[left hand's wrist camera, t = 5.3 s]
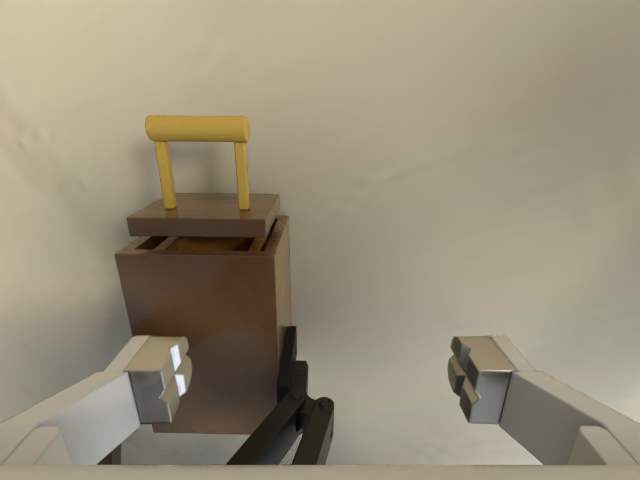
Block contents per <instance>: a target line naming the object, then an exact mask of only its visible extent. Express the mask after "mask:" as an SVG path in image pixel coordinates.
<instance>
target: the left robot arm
mask: <svg viewBox="0 0 640 480" xmlns="http://www.w3.org/2000/svg"><path fill="white" fill-rule="evenodd" d="M188 349H189V344H188V339H187V338H186V337H185V336H158V335H153V336H151V335H136V336H134V337H132V338H131V339H130V340H129V342H128V343H127V344H126V345H125V346H124V347H123V349H122V350H121V351H120V352H119V353H118V355H117V356H116V357H115V358H114V359H113V361H112V362H111V363H110V364H109V365H108V366H107V368H106V369H105V370H104V371H103V372H96V373H94V374H92V375H91V376H89V377H87V378H85V379H83V380H81V381H79V382H77V383H75V384H74V385H72V386H70V387H68V388H66V389H64V390H62V391H60V392H59V393H57V394H55V395H53V396H51V397H49V398H47V399H45V400H43V401H42V402H40V403H38V404H36V405H34V406H32V407H30V408H28V409H26V410H25V411H23V412H21V413H19V414H17V415H15V416H13V417H11V418H9V419H8V420H6V421H4V422H2V423H0V480H640V423H638V422H636V421H634V420H632V419H630V418H628V417H626V416H625V415H623V414H621V413H619V412H617V411H615V410H613V409H611V408H610V407H608V406H606V405H604V404H602V403H600V402H598V401H596V400H595V399H593V398H591V397H589V396H587V395H585V394H583V393H581V392H579V391H578V390H576V389H574V388H572V387H570V386H568V385H566V384H564V383H563V382H561V381H559V380H557V379H555V378H553V377H551V376H549V375H548V374H546V373H544V372H537V371H536V370H535V369H534V368H533V366H532V365H531V364H530V363H529V362H528V361H527V359H526V358H525V357H524V356H523V355H522V353H521V352H520V351H519V350H518V349H517V348H516V346H515V345H514V344H513V343H512V342H511V340H510V339H509V338H508V337H506V336H504V335H492V336H454V338H453V340H452V343H451V349H452V351H453V353H454V355H453V356H452V357H451V358H450V359H449V362H448V378H449V382H450V385H451V388H452V390H453V392H454V393H456V394H457V395H458V396H460V403H459V405H460V407H461V409H462V411H463V413H464V415H465V417H466V419H467V421H468V423H474V424H499V426H500V427H501V428H502V429H504V430H505V431H506V432H507V433H508V434H509V435H510V436H512V437H513V438H514V439H515V440H516V441H517V442H518V443H520V444H521V445H522V446H523V447H524V448H525V449H526V450H528V451H529V452H530V453H531V454H532V455H533V456H535V457H536V458H537V459H538V460H539V461H540V462H541V463H543V464H544V465H96V464H98V463H99V462H100V461H101V460H102V459H103V458H104V457H106V456H107V455H108V454H109V453H110V452H111V451H112V450H114V449H115V448H116V447H117V446H118V445H119V444H121V443H122V442H123V441H124V440H125V439H126V438H127V437H129V436H130V435H131V434H132V433H133V432H134V431H135V430H137V429H138V428H139V427H140V426H141V425H140V424H165V423H172V421H173V419H174V417H175V415H176V413H177V411H178V409H179V407H180V405H181V403H180V396H182V395H183V394H184V393H186V392H187V390H188V388H189V385H190V382H191V377H192V361H191V359H190V358H189V357H188V356H187V355H186V353H187V351H188Z"/></svg>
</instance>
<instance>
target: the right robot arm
mask: <svg viewBox="0 0 640 480" xmlns="http://www.w3.org/2000/svg"><path fill="white" fill-rule="evenodd" d="M296 355H297V339H296V326H287V330H286V336H285V342H284V347H283V353H282V359H281V364H280V370H279V374H278V380H277V385H276V387H277V405H276V407H275V408H274V409H273V410H272V411H271V412H270V414H269V415H268V416H267V417H266V418H265V419H264V421H263V422H262V423H261V424H260V425H259V426H258V428H257V429H256V430H255V431H254V432H253V433H252V435H251V436H250V437H249V438H248V439H247V440H246V442H245V443H244V444H243V445H242V446H241V447H240V449H239V450H238V451H237V452H236V453H235V454H234V456H233V457H232V458H231V459H230V460H229V461H228V463H227V464H226V465H278V464H279V463H280V462H281V460H282V459H283V457H284V456H285V455H286V453H287V452H288V450H289V449H290V448H291V446H292V445H293V443H294V442H295V441H296V439H297V438H298V436H299V435H300V434H301V433H303V435H302V438H301V441H300V443H299V446H298V449H297V451H296V454H295V457H294V459H293V462H292V465H325V463H326V459H327V455H328V452H329V448H330V445H331V441H332V438H333V424H334V403H333V401H332V400H331V399H330V398H327V397H322V398H319V399H317V400H314V399H312V398H310V397H309V396H308V395H307V390H308V365H307V363H306V361H296ZM96 465H121V444H119V445H118V446H117V447H116V448H115V449H114V450H112V451H111V452H110V453H109V454H108V455H107V456H106V457H104V458H103V459H102V460H101V461H100V462H99V463H98V464H96Z"/></svg>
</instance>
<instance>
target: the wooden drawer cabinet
mask: <svg viewBox="0 0 640 480" xmlns="http://www.w3.org/2000/svg"><path fill="white" fill-rule="evenodd" d="M168 237H169V236H140V237H139V238H138V239H136V240H135V241H133V242H132V243H130V244H129V245H127V246H126V247H124V248H123V249H121V250H120V251H118V252H117V253H116V254H115V259H116V263H117V268H118V272H119V277H120V281H121V286H122V290H123V295H124V299H125V304H126V309H127V313H128V318H129V322H130V327H131V331H132V336H133V337H134V336H136V335H151V336H153V335H158V336H185V337H186V338H187V339H188V344H189V349H188V351H187V353H186V355H187V356H188V357H189V358H190V359H191V361H192V377H191V382H190V385H189V388H188V390H187V392H186V393H184V394H183V395H182V396H180V403H181V405H180V407H179V409H178V411H177V413H176V415H175V417H174V419H173V421H172V423H165V424H152V427H153V431H154V433H204V434H252V433H253V432H254V431H255V430H256V429H257V428H258V426H259V425H260V424H261V423H262V422H263V421H264V419H265V418H266V417H267V416H268V415H269V414H270V412H271V411H272V410H273V409H274V408H275V407H276V405H277V387H276V385H277V380H278V374H279V370H280V364H281V359H282V353H283V347H284V342H285V336H286V330H287V326H291V292H290V249H289V217H288V216H276V218H275V220H274V222H273V224H272V226H271V236H270V238H269V241H268V243H267V245H266V247H265V250H264V251H204V250H153V249H154V248H156V247H157V246H158V245H159V244H161V243H162V242H163V241H164V240H166V239H167V238H168Z"/></svg>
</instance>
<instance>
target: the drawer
mask: <svg viewBox="0 0 640 480" xmlns="http://www.w3.org/2000/svg"><path fill="white" fill-rule="evenodd" d="M145 128H146V133H147V135H148V137H149V139H150V140H152V141H155V149H156V155H157V161H158V168H159V174H160V181H161V187H162V193H163V198H162V199H160V200H159V201H157V202H155V203H153V204H151V205H149V206H147V207H146V208H144V209H142V210H140V211H138V212H136V213H135V214H133V215H131V216H129V217H127V223H128V228H129V233H130V236H169V237H168V238H167V239H166V240H164V241H163V242H162V243H161V244H159V245H158V246H157V247H156V248H154V249H153V250H204V251H264V250H265V247H266V245H267V243H268V241H269V238H270V236H271V226H272V224H273V222H274V220H275V218H276V215H277V213H278V211H279V209H280V202H279V194H249V185H248V170H247V155H246V142H248V140H249V136H250V128H249V121H248V119H247V117H243V116H148V117H147V118H146V122H145ZM167 141H196V142H235V143H234V145H235V159H236V172H237V185H238V194H209V193H175V191H174V184H173V177H172V170H171V163H170V156H169V149H168V142H167Z"/></svg>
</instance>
